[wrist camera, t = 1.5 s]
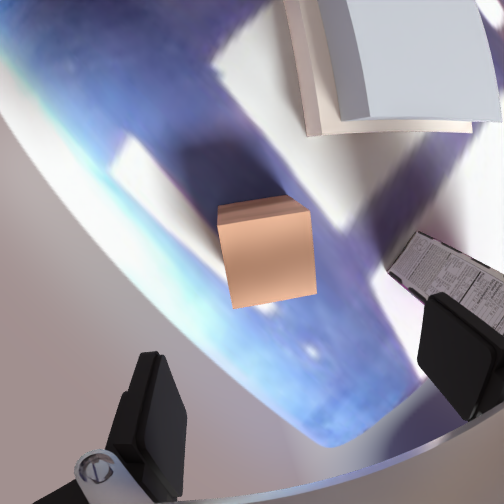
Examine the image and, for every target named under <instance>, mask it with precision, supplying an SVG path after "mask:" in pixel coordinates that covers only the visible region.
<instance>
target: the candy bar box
mask: <svg viewBox="0 0 504 504" xmlns="http://www.w3.org/2000/svg"><path fill="white" fill-rule="evenodd" d="M387 273H388V274H389V275H390V276H391V277H392V278H393V279H395V280H396V281H397V282H398V283H399V284H400V285H402V286H403V287H404V288H405V289H406V290H407V291H409V292H410V293H411V294H412V295H413V296H414V297H415V298H417V299H418V300H419V301H420V302H421V303H423V304H424V305H425V302H426V301H427V300H428V297H429V296H430V295H433V294H436V293H439V292H445V293H446V294H448V295H449V296H450V297H452V298H453V299H455V300H456V301H457V302H459V303H460V304H461V305H463V306H464V307H466V308H467V309H468V310H470V311H471V312H472V313H474V314H475V315H476V316H478V317H479V318H480V319H482V320H483V321H484V322H486V323H487V324H488V325H490V326H491V327H492V328H493V329H495V330H496V331H497V332H499V333H500V334H501V335H502V336H504V274H502V273H500V272H499V271H497V270H495V269H493V268H491V267H489V266H487V265H485V264H483V263H481V262H479V261H477V260H476V259H474V258H472V257H470V256H468V255H466V254H464V253H462V252H460V251H458V250H456V249H454V248H453V247H451V246H448V245H447V244H445V243H443V242H441V241H439V240H437V239H434V238H432V237H430V236H428V235H426V234H424V233H422V232H420V231H416V233H415V234H414V235H413V236H412V238H411V239H410V241H409V242H408V244H407V245H406V247H405V249H404V250H403V252H402V253H401V254H400V256H399V257H398V258H397V260H396V261H395V262H394V263H393V265H392V266H391V268H390V269H389V270H388V272H387Z"/></svg>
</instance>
